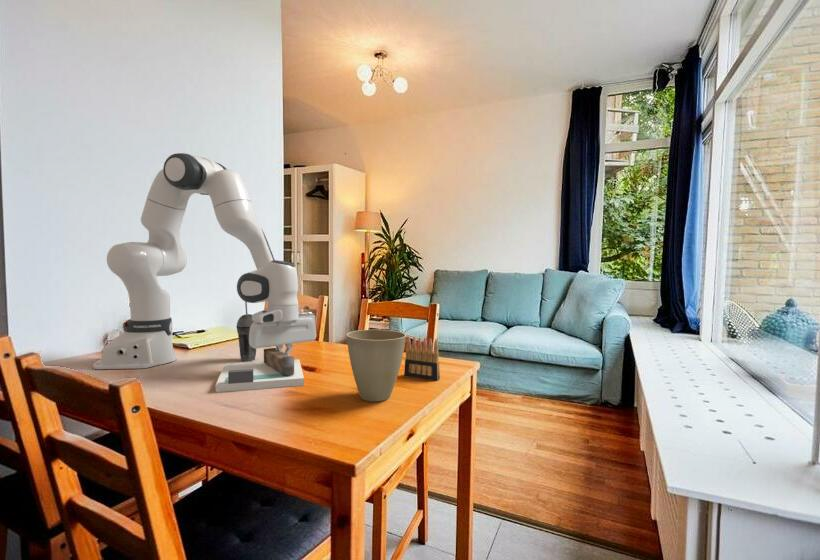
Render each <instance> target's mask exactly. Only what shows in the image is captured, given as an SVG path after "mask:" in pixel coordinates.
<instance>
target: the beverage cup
mask: <svg viewBox="0 0 820 560" xmlns="http://www.w3.org/2000/svg"><path fill="white" fill-rule="evenodd" d="M244 305H245V314H243V315H241V316H239V317H238V320H237V322H236V331H237V336H238V337H237V338H238V345H239V346H238V347H239V356H240V361H241V362H243V361H250V362H254V361H255V360H256V357H257V356H256V355H257V348H256V349H255V348H253V347H251V346H250V345H249V331H250V326H251V324H252V323H253V322H255V321H253V320H252V315H253V314H250V313H248V302H245V301H244ZM253 360H254V361H253Z"/></svg>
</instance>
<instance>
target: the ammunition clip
mask: <svg viewBox="0 0 820 560" xmlns="http://www.w3.org/2000/svg"><path fill="white" fill-rule="evenodd" d="M432 340H433V339H432V338H430V337H429V341H428V342H427V338H426V337H424V339H423V340H422V338H421V336H419V337H418V340H416V337H415V336H413V337H412V341H411V337H410V335H408V336H407V337H406V347H405V359H404V370H403V371H404V373H403V375H404V377H407V378H415V379H420V380H428V381H434V382H437V381H439V380H440V376H441V375H440V361H439V358H440V357H439V343H438V342H439V341H438V339H437V338H435V339H434V341H432ZM433 342H434V343H433Z"/></svg>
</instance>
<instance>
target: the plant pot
mask: <svg viewBox="0 0 820 560" xmlns="http://www.w3.org/2000/svg"><path fill="white" fill-rule="evenodd" d="M346 341H347V349H348V357H349V361H350V366H351V371H352V375H353V377H354V382H355V384H356V388H357V391H358V395H359V396H360V399H362V400H364V401H367V402H372V403H373V402H374V403H375V402H384V401H387V400H388V399H390V398H391V395H392V393H393V390H394V388H395V385H396V382H397V379H398V376H399V372H400V369H401V365H402V362H403V357H404V351H405V348H406V347H405V345H406V342H407V334H406V333H405V332H402V331H397V330H391V329H389V330H388V329H360V330H353V331H350V332H347V333H346Z"/></svg>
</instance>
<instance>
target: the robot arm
mask: <svg viewBox="0 0 820 560" xmlns="http://www.w3.org/2000/svg"><path fill="white" fill-rule="evenodd" d="M193 194H200V195H203V196H205V195H207V196H209V197H210V200H211V204H212V208H213V211H214V215H215V217H216V220H217V222H218V224H219V226H220V229H222V230H223V231H224V232H225V233H227V234H228V235H230V236H231V237H234V238H236V239H237V240H239V241H240V242H241V243H243V244H244V245H245V246H246V247H247V249H248V250H249V252H250V255H251V258H252V261H253V262H254V266H255V267H256V269H255V270H252V271H249V272H246V273H243V274H242V275H241V276H239V278H238V280H237V283H236V292H237V295H238V297H239V298H240V299H241V300H242V301H243V302H244V303H245V302H247V304H249V303H250V304H258V303H264V302H267V303H268V305H267V307H268V308H265V309H263V310H261V311H258V312H256V313H252V314H251V315H252V320H253V321H255V322H253V323H252V324H251V326H250V331H249V345H250V346H251V347H253V348H255V349H256V350H257V349H262V348H263V349H265V348H270V347H271V348H272V347H275V348H276V349H277V350H278V351H280V352H282V353H284V354H286V355H288V356H290V353H291V350H292V349H293V344H301V343H306V342H314V341H315V340H316V338H317V329H316V328H317V327H316V316H315V314H314V313H312V311H305V312H304V311H303V312H302V311H301V312H299V310H300V309H299V300H298V293H299V279H298V271H297V267H296V265H295V264H294V263H292V262H289V261H285V260H277V259H276V260H275V257H274V254H273V252H272V250H271V247H270V244H269V241H268V239H267V237H266V235H265V232H264V231H263V228H262V227H261V224H260V222H259V220H258V218H257V215H256V213H255V209H254V205H253V203H252V199H251V196H250V193H249V191H248V189H247V186H246V184H245V182H244V180H243V178H242V176H241V175H240V174H239V173H238V172H237V171H235V170H232V169H228V168H226V167H225V166H224V165H222V164H221V163H218V162H215V161H213V160H211V159H208V158H205V157H203V156H202V157H201V156H200V157H199V156H196V155H192V154H188V153H183V152H181V153H179V152H177V153H176V152H175V153H173V154H171V155H169V156H168V157H167V158H166V160H165V161H164V165H163V169H161V170H159V171H158V172H157V174H156V175H155V177H154V179H153V181H152V184H151V186H150V188H149V191H148V193H147V196H146V200H145V204H144V207H143V210H142V213H141V217H140V223H141V224H142V226H143V227H144V228H145V229H146V230H147V231H148V241H147V242H144V241H143V242H139V241H136V242H135V241H129V242H122V243H118V244H115V245H113V246H111V247H110V249H109V250H108V252H107V254H106V264H107V267H108V269H109V270H110V271H111V272H112V273H113V274H114V275H116V276H117V277H118V278H119V279H120V281H122V283H123V284H124V287H125V288H126V291H127V294H128V297H129V298H128V300H129V310H130V318H129V319H127V320H126V321H125V322H123V323H122V327H121V328H123V332H121V333H120V334H119V335H118V336H116V337H114V338H113V339H112V340H111V341H109V342H108V343H107V344H106V345H105V346H104V348H103V351H102V354H101V359H98V360H96V362H94V363H93V365H92V368H93V370H120V369H121V370H123V369H124V370H125V369H128V370H129V369H133V370H134V369H135V370H136V369H147V368H151V367H155V366H161V365H164V364H168V363H172V362H174V361H176V360H177V355H176V354H175V349H174V346H173V340H172V333H173V319H172V317H171V295H170V294H169V293H168V291H166V290H165V289H162V287H161V286H160V284H159V281H158V277H167V276H172V275H174V274H178V273H180V272H182V271H183V270H184V269H185V268H186V266H187V260H188V258H187V254H186V252H185V250H184V249H183V248H182V246H181V241H180V233H181V232H180V231H181V228H182V223H183V220H184V215H185V212H186V210H187V206H188V202H189V200H190V198H191V196H193ZM284 346H285V347H286V348H285V351H283V349H284Z"/></svg>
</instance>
